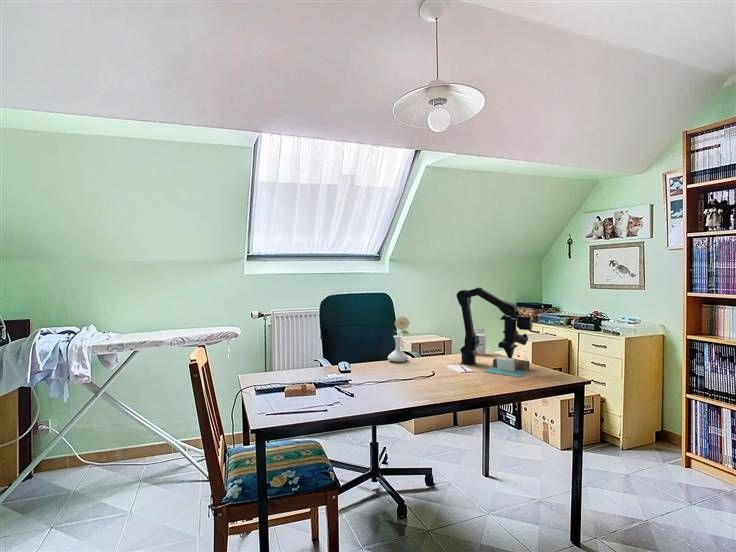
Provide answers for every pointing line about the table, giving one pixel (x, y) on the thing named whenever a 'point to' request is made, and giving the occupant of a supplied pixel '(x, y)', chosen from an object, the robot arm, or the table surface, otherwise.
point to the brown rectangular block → (517, 364)
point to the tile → (506, 364)
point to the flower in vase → (397, 353)
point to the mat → (505, 372)
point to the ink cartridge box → (482, 345)
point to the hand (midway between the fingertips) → (510, 359)
